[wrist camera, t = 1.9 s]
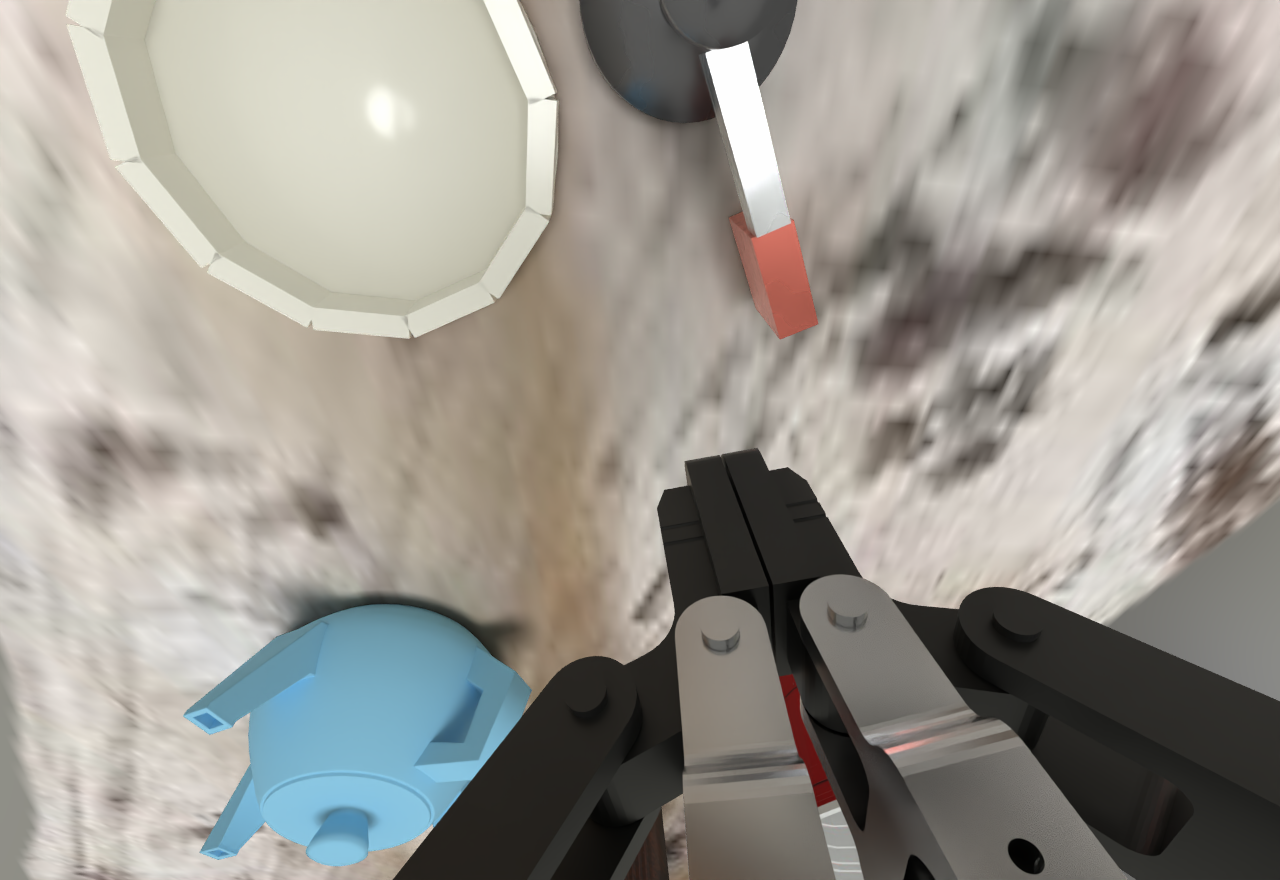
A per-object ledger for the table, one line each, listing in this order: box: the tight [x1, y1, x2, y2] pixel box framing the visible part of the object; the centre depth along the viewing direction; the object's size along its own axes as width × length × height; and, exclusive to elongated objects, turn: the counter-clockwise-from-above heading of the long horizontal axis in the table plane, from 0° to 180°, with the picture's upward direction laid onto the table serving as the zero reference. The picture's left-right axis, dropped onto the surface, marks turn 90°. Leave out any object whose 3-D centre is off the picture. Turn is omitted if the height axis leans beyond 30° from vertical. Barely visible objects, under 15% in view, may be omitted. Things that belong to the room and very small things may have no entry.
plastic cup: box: [779, 674, 864, 880], centre depth 34 cm, size 11×11×12 cm
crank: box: [698, 41, 818, 339], centre depth 20 cm, size 10×2×4 cm, turn 22°
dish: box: [65, 0, 559, 339], centre depth 19 cm, size 14×14×3 cm
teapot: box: [183, 604, 532, 866], centre depth 32 cm, size 15×15×11 cm
